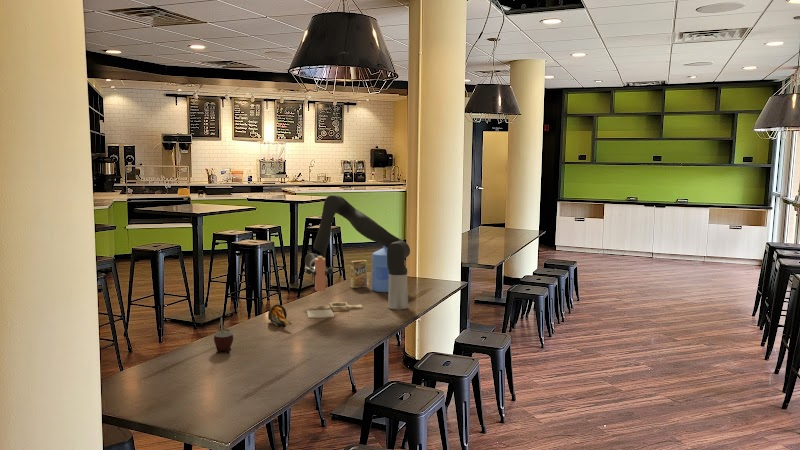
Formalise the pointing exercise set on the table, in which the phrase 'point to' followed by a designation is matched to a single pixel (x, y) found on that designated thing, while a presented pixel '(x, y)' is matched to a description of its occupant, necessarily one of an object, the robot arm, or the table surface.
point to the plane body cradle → (338, 306)
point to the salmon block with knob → (320, 273)
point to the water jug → (380, 271)
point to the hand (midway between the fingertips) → (320, 273)
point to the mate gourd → (223, 339)
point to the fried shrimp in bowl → (278, 315)
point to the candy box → (358, 273)
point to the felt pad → (319, 313)
